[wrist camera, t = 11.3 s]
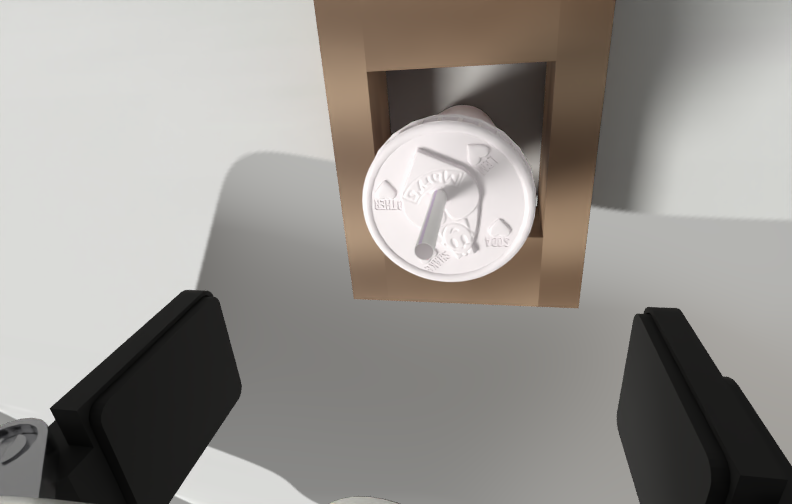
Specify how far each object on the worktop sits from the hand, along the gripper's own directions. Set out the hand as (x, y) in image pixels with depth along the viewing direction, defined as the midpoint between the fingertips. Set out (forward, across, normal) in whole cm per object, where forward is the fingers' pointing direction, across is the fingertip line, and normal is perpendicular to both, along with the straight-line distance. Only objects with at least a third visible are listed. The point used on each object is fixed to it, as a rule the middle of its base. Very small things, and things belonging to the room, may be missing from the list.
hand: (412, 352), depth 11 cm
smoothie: (+18, 0, -1) cm, 18 cm away
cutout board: (+17, 0, -1) cm, 17 cm away
